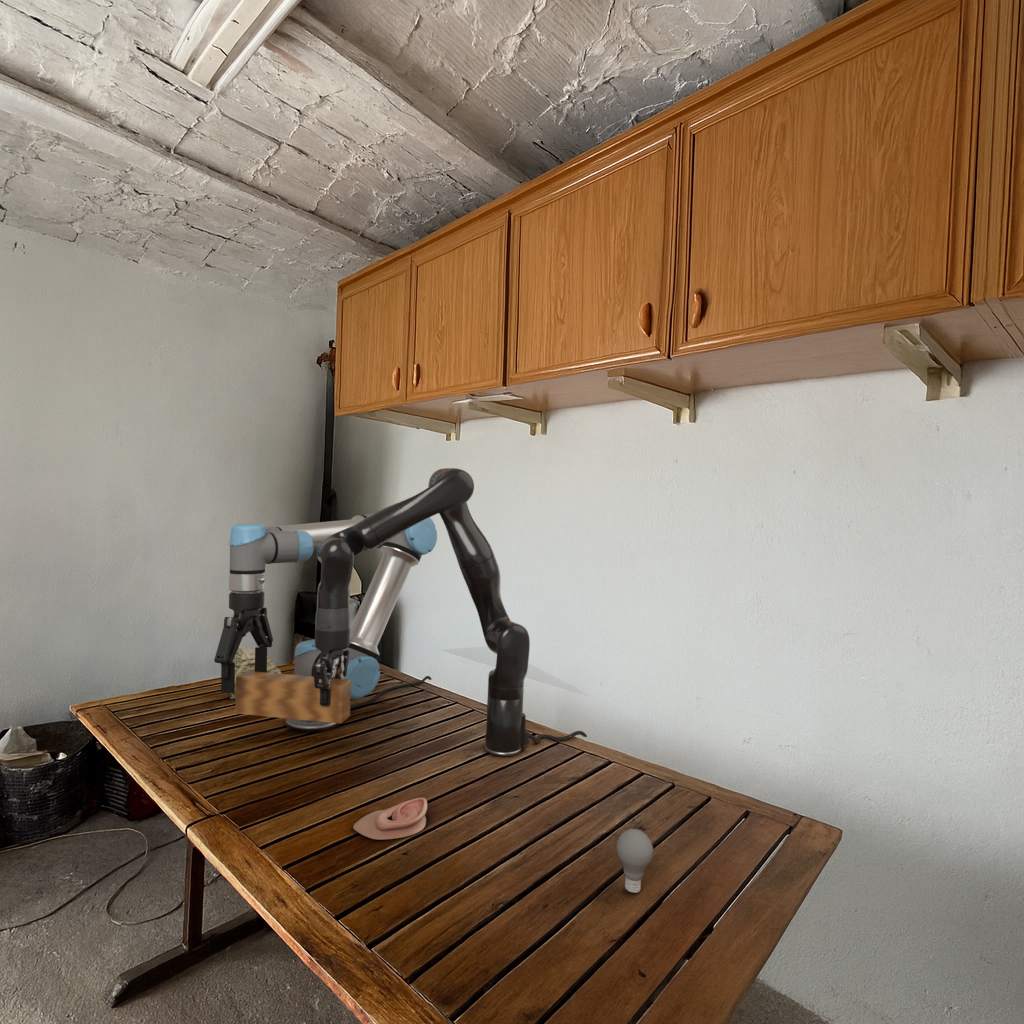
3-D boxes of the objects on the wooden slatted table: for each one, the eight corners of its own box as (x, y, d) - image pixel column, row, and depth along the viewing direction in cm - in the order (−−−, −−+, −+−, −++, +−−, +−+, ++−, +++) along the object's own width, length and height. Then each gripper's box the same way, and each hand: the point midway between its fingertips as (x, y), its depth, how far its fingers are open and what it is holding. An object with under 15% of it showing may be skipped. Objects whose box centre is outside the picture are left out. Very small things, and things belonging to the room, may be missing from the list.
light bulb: (610, 879, 108) (613, 822, 108) (644, 879, 109) (647, 822, 109) (619, 902, 102) (622, 840, 102) (655, 901, 103) (658, 840, 103)
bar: (234, 713, 143) (235, 676, 143) (247, 706, 148) (248, 670, 148) (341, 723, 139) (342, 685, 139) (350, 716, 144) (351, 679, 144)
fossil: (218, 695, 195) (220, 647, 195) (278, 685, 208) (279, 640, 207) (228, 703, 189) (230, 653, 188) (289, 692, 201) (290, 645, 201)
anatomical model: (346, 814, 119) (372, 787, 130) (345, 835, 119) (371, 806, 130) (413, 824, 116) (433, 796, 127) (412, 846, 116) (432, 816, 127)
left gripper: (230, 601, 132) (228, 701, 133) (288, 584, 157) (286, 669, 157) (197, 599, 133) (195, 699, 134) (260, 582, 158) (258, 667, 158)
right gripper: (334, 634, 134) (332, 713, 135) (361, 621, 148) (359, 693, 149) (301, 631, 135) (299, 710, 136) (331, 619, 149) (329, 691, 150)
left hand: (244, 683), depth 145 cm, fingers open, 13 cm apart
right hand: (330, 701), depth 142 cm, fingers closed on bar, 5 cm apart
